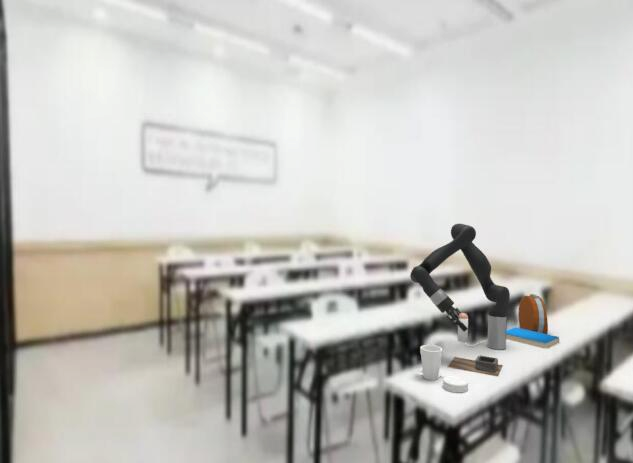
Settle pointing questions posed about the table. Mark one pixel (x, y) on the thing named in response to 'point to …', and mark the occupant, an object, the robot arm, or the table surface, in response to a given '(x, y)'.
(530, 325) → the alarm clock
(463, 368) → the jig board
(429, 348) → the foam cup
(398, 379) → the table surface
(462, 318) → the orange-capped post
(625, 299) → the table surface
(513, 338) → the book
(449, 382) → the coaster
